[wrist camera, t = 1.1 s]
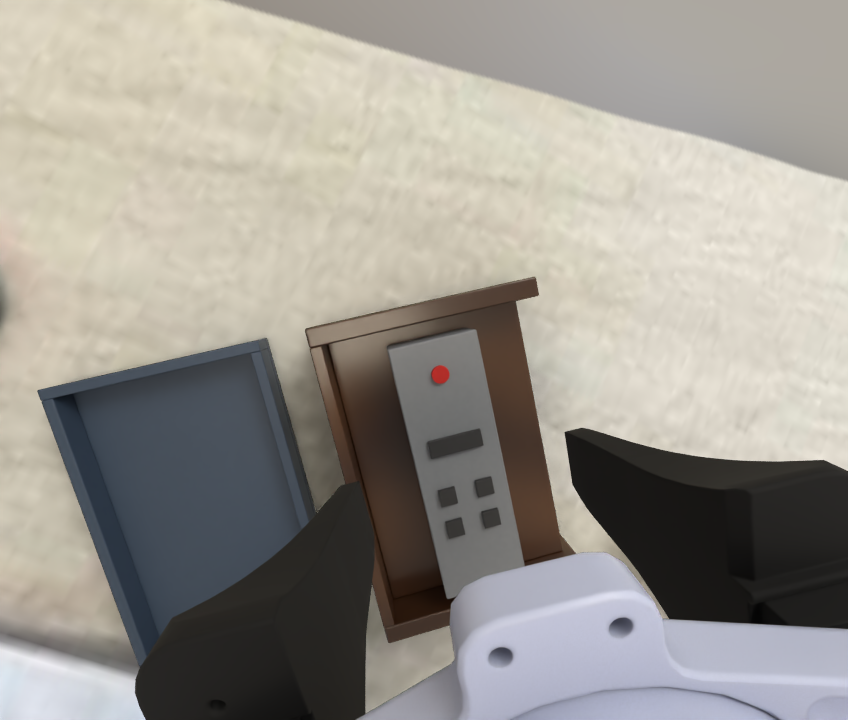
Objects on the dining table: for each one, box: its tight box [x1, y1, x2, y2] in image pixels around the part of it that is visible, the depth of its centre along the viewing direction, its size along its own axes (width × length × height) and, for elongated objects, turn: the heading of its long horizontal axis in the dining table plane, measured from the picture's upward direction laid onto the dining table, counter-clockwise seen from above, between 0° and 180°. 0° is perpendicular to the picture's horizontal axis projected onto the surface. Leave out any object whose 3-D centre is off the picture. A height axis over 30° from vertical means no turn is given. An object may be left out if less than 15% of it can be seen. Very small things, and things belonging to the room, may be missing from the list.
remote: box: [387, 328, 525, 599], centre depth 22 cm, size 14×5×3 cm, turn 13°
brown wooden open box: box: [305, 277, 576, 643], centre depth 24 cm, size 18×12×5 cm
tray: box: [37, 338, 316, 667], centre depth 24 cm, size 18×12×2 cm, turn 13°
